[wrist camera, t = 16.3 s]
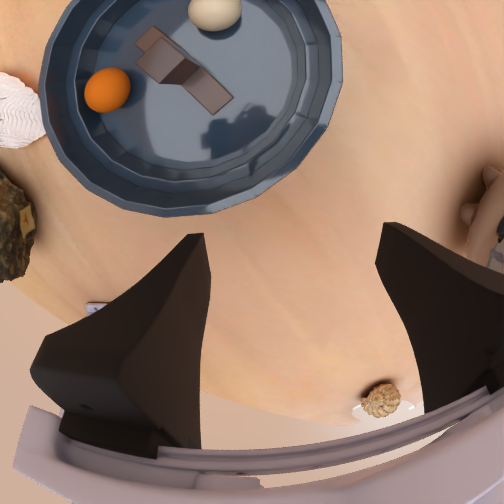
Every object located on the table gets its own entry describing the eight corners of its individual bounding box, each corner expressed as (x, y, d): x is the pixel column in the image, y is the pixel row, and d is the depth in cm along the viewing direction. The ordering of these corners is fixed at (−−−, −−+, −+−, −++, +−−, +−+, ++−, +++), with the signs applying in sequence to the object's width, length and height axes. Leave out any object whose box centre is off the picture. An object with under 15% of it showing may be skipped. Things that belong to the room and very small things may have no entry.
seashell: (400, 367, 40) (380, 382, 34) (416, 392, 36) (399, 412, 30) (370, 389, 44) (344, 405, 37) (384, 413, 40) (360, 433, 33)
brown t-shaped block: (234, 97, 15) (230, 99, 10) (215, 113, 15) (202, 125, 10) (160, 29, 12) (123, 7, 7) (142, 47, 12) (98, 33, 7)
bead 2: (188, 40, 12) (225, 23, 13) (218, 37, 10) (258, 21, 11) (171, 2, 10) (211, -13, 10) (200, -9, 8) (244, -21, 9)
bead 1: (109, 98, 15) (85, 124, 13) (96, 64, 12) (68, 88, 11) (143, 93, 14) (120, 120, 13) (133, 56, 12) (105, 79, 10)
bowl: (100, 197, 18) (69, 229, 14) (78, 5, 9) (40, -6, 5) (315, 179, 18) (337, 208, 14) (308, -32, 10) (329, -62, 5)
